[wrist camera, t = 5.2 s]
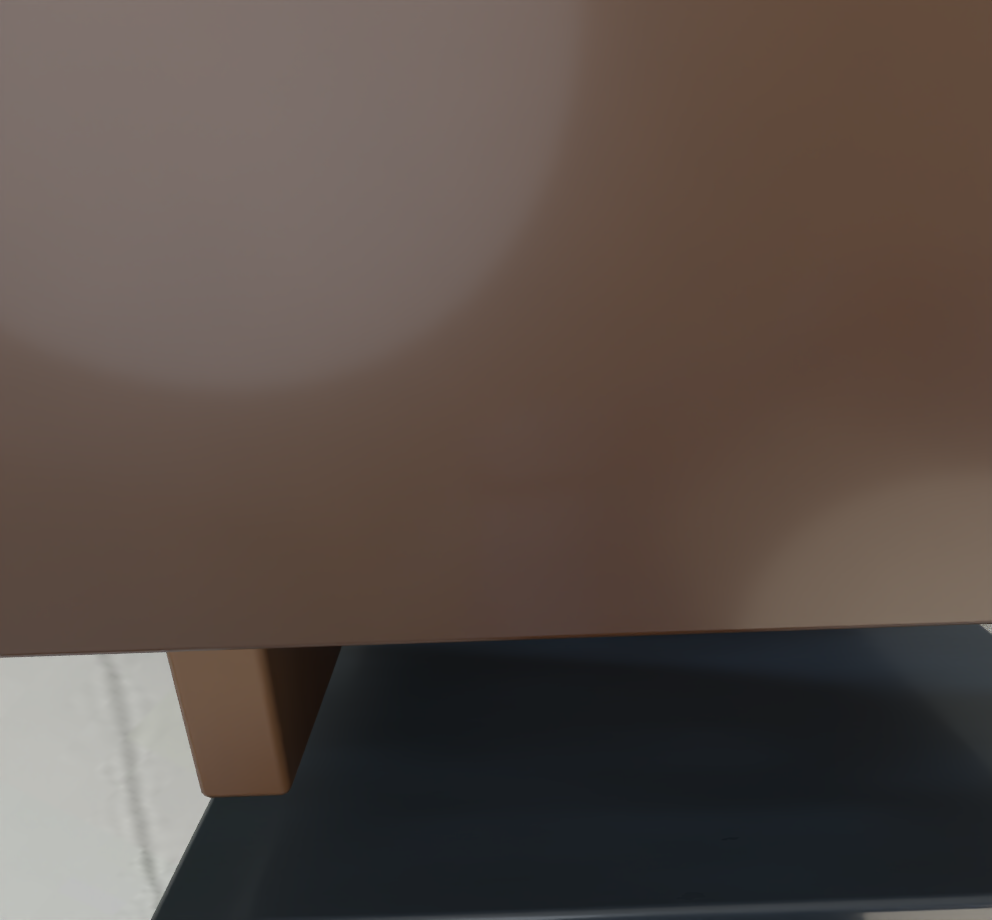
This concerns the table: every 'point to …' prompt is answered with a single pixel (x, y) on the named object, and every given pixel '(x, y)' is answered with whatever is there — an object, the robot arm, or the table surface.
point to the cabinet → (491, 320)
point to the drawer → (593, 778)
